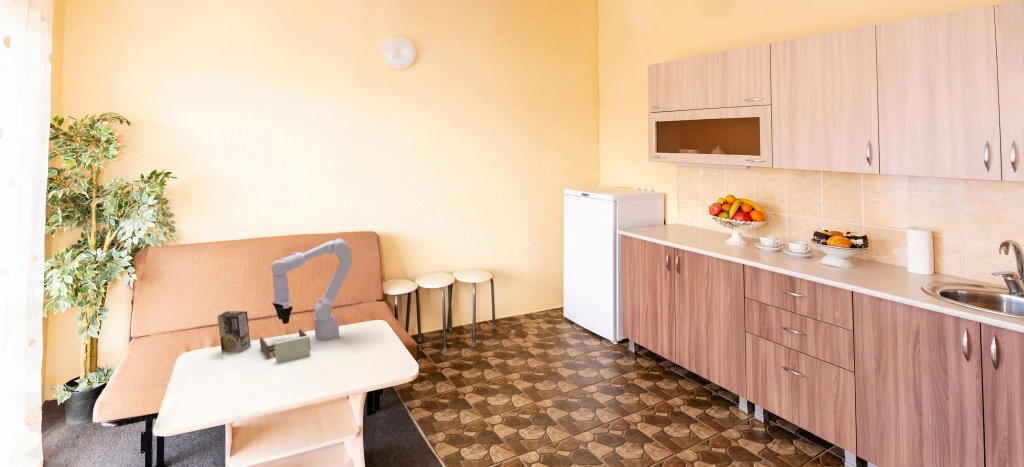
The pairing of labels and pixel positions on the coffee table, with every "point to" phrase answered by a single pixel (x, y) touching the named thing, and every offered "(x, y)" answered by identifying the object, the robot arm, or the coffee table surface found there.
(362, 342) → the coffee table surface
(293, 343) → the pale green long block
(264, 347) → the rack
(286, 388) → the coffee table surface
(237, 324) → the coffee box
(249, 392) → the coffee table surface
